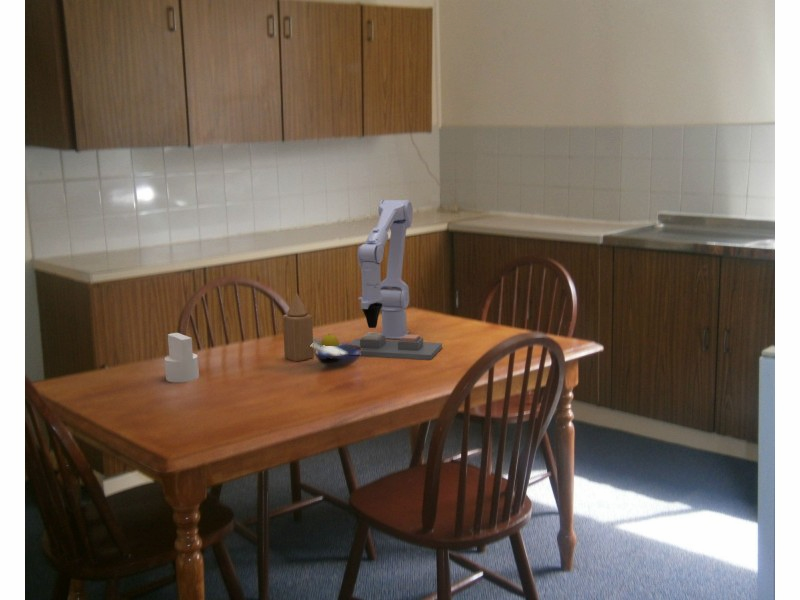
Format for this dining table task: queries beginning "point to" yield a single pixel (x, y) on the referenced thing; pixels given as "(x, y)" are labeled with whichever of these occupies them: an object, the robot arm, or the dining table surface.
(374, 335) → the white key
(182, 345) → the cylinder with rectangular tab
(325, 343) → the lemon
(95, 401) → the dining table surface
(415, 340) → the terracotta key
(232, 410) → the dining table surface
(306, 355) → the decorative item
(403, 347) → the grey key base
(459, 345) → the dining table surface
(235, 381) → the dining table surface
